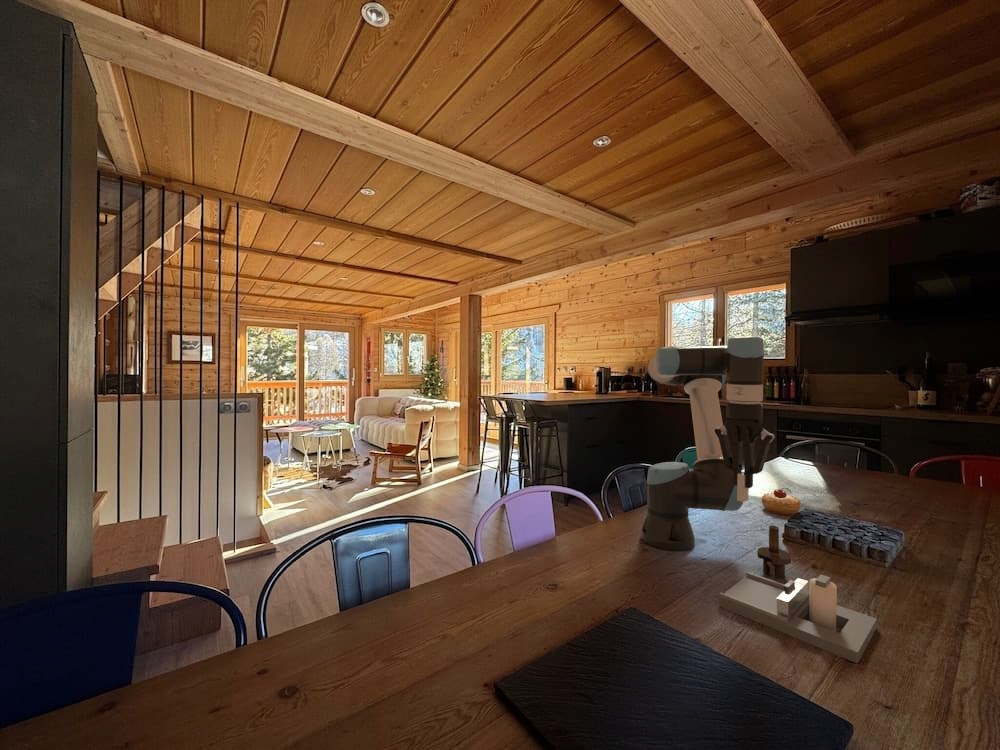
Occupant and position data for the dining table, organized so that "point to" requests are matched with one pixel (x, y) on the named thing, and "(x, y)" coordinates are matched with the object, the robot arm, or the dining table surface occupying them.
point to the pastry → (781, 503)
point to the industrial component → (774, 555)
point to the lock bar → (792, 597)
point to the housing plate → (799, 618)
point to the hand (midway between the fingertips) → (742, 499)
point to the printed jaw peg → (822, 602)
